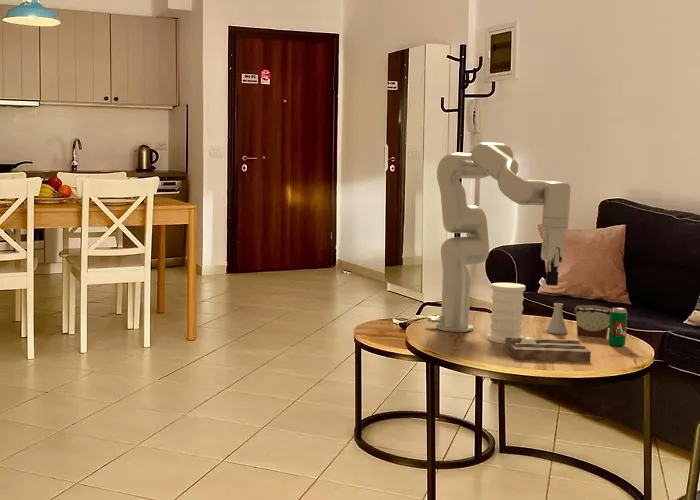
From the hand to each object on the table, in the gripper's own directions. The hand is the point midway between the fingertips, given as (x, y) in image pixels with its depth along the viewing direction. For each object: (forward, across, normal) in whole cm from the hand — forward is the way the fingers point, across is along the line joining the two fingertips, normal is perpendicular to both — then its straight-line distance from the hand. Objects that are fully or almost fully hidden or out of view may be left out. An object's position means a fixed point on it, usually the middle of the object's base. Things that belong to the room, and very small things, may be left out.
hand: (551, 284), depth 240 cm
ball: (+19, 0, -6) cm, 20 cm away
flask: (+22, -34, +10) cm, 41 cm away
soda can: (+21, -16, +26) cm, 37 cm away
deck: (+21, 0, 0) cm, 21 cm away
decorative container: (+22, -18, -10) cm, 30 cm away
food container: (+21, -30, +21) cm, 42 cm away
